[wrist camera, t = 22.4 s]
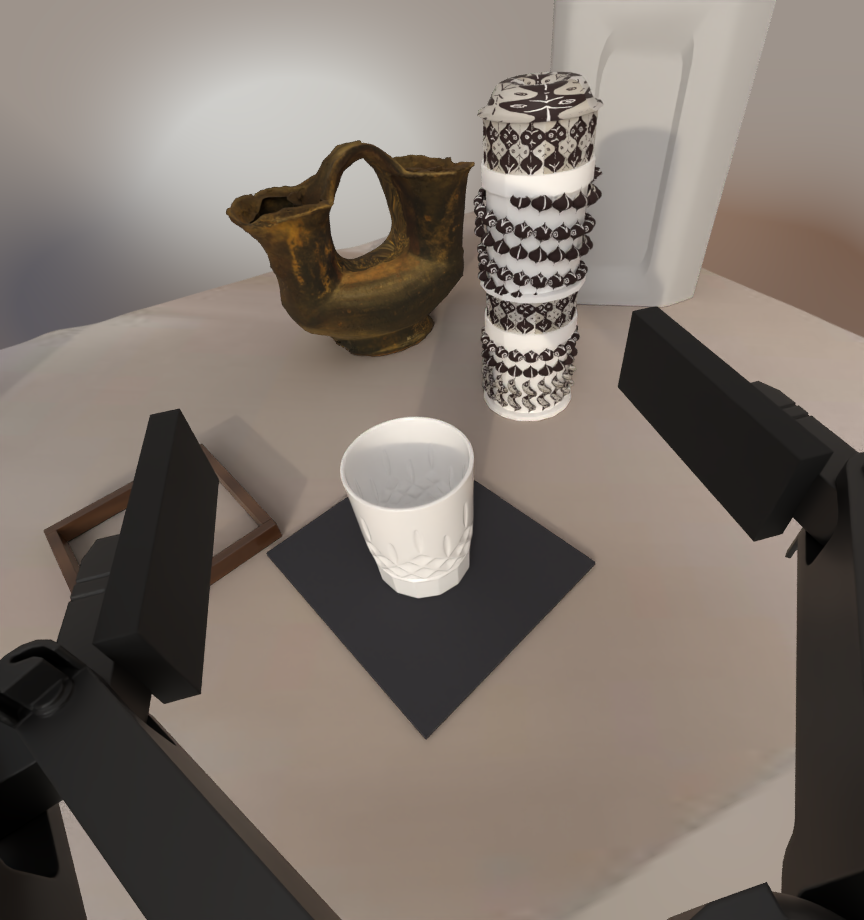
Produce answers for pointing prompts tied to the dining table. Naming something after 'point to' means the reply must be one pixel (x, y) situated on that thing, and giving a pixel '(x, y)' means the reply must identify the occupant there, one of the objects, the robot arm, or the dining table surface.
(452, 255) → the pottery vessel
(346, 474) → the white cup
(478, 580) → the mat
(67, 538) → the wooden frame
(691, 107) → the white triangular vase
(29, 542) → the dining table surface
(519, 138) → the decorative candle
